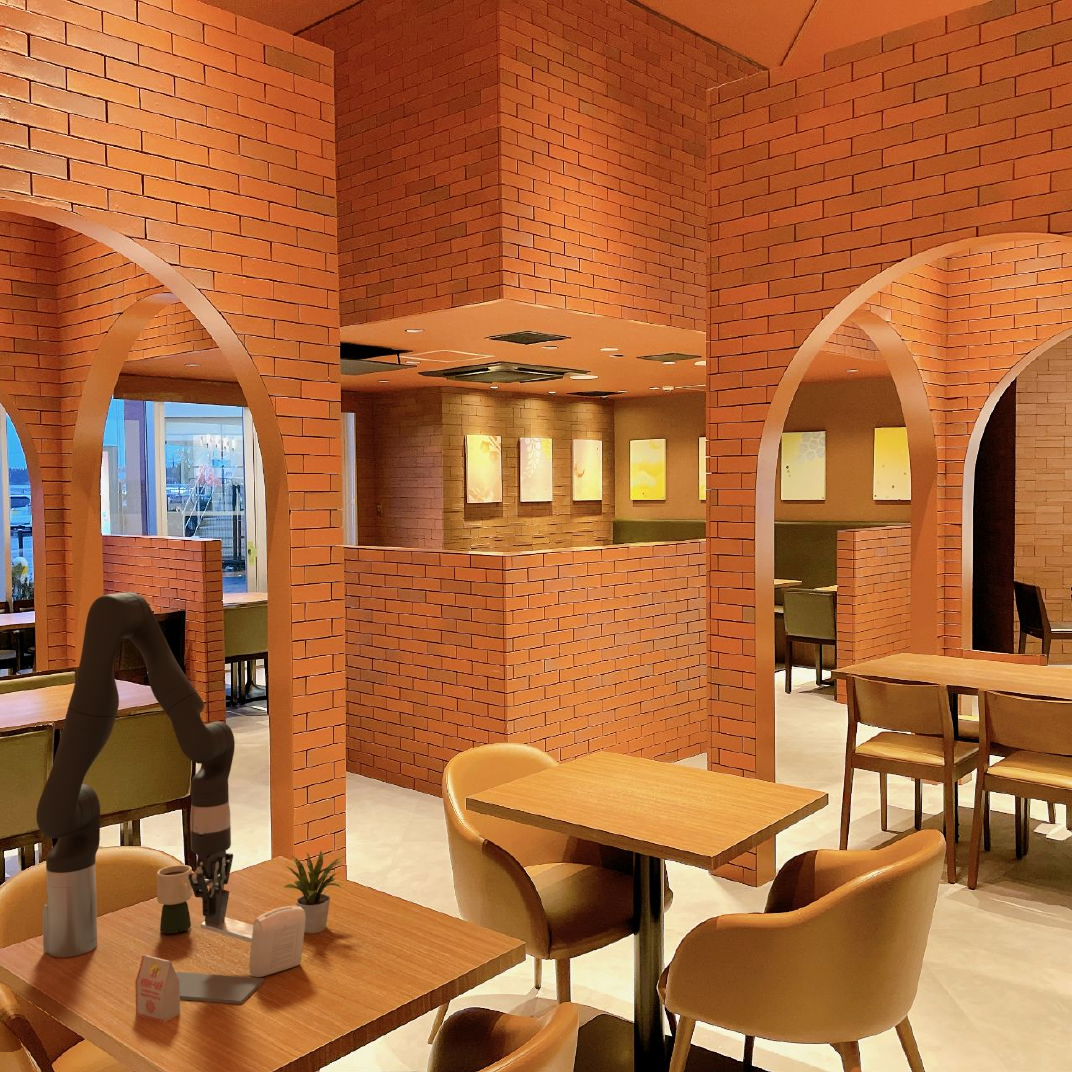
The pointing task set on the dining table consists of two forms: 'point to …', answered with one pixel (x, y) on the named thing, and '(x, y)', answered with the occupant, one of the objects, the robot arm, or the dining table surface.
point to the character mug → (174, 897)
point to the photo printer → (277, 940)
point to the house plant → (314, 892)
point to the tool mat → (216, 987)
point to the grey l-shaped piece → (226, 919)
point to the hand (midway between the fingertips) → (212, 912)
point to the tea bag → (157, 989)
